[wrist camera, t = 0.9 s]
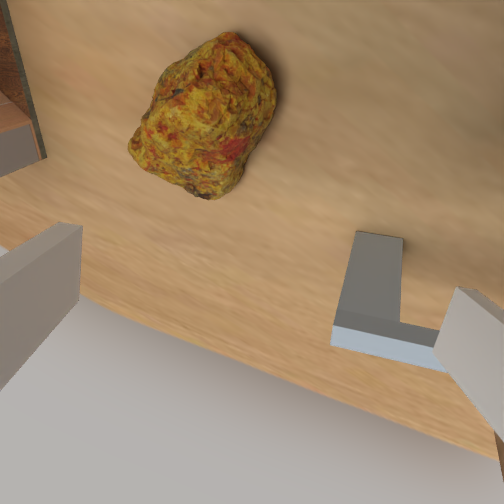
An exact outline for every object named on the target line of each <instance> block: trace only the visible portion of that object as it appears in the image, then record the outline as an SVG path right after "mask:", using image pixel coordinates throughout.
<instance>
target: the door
mask: <svg viewBox="0 0 504 504" xmlns="http://www.w3.org/2000/svg"><path fill="white" fill-rule="evenodd" d="M494 434H495V439H496V444H497V450H498V455H499V460H500V465H501V471H502V476H503V481H504V442H503V441H502V440H501V438H500V437H499V436H498V435H497V433H496V432H495V431H494Z"/></svg>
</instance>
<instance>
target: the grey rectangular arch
mask: <svg viewBox="0 0 504 504" xmlns="http://www.w3.org/2000/svg"><path fill="white" fill-rule="evenodd" d="M402 250H403V238H397V237H390V236H384V235H378V234H372V233H365V232H359V231H356V234H355V238H354V242H353V246H352V250H351V254H350V258H349V262H348V267H347V271H346V275H345V279H344V283H343V287H342V291H341V295H340V299H339V303H338V307H337V311H336V315H335V320H334V324H333V329H332V336H331V342H330V345H332V346H337V347H341V348H345V349H349V350H353V351H358V352H362V353H366V354H370V355H374V356H379V357H383V358H387V359H391V360H395V361H400V362H404V363H408V364H412V365H416V366H421V367H425V368H429V369H433V370H438V371H442V372H446V373H448V372H447V371H446V369H445V368H444V367H443V366H442V364H441V363H440V362H439V361H438V359H437V358H436V357H435V356H434V354H433V353H432V351H433V348H434V345H435V343H436V340H437V337H438V334H439V332H440V331H439V330H434V329H430V328H425V327H420V326H416V325H411V324H406V323H401V322H400V300H401V275H402Z"/></svg>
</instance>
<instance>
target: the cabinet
mask: <svg viewBox="0 0 504 504" xmlns="http://www.w3.org/2000/svg"><path fill="white" fill-rule="evenodd" d="M44 158H47V154H46V151H45V147H44V143H43V139H42V135H41V131H40V128H39V124H38V120H37V116H36V112H35V108H34V105H33V101H32V97H31V93H30V89H29V85H28V82H27V78H26V74H25V70H24V66H23V62H22V59H21V55H20V51H19V47H18V43H17V39H16V36H15V32H14V28H13V24H12V20H11V16H10V13H9V9H8V5H7V1H6V0H0V177H2V176H4V175H7V174H9V173H11V172H14V171H16V170H19V169H21V168H23V167H26V166H28V165H30V164H33V163H35V162H37V161H39V160H42V159H44Z"/></svg>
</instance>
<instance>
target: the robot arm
mask: <svg viewBox="0 0 504 504" xmlns="http://www.w3.org/2000/svg"><path fill="white" fill-rule="evenodd" d="M82 230H83V226H81V225H75V224H69V223H63V222H58V223H56V224H55V225H53V226H51V227H50V228H48V229H46V230H45V231H43V232H41V233H40V234H38V235H36V236H35V237H33V238H31V239H30V240H28V241H26V242H25V243H23V244H21V245H20V246H18V247H16V248H14V249H13V250H11V251H9V252H8V253H6V254H5V255H3V256H1V257H0V391H1V390H2V388H3V387H4V386H5V385H6V384H7V383H8V382H9V380H10V379H11V378H12V377H13V376H14V375H15V373H16V372H17V371H18V370H19V369H20V368H21V367H22V365H23V364H24V363H25V362H26V361H27V360H28V358H29V357H30V356H31V355H32V354H33V353H34V352H35V350H36V349H37V348H38V347H39V346H40V345H41V343H42V342H43V341H44V340H45V339H46V338H47V337H48V335H49V334H50V333H51V332H52V330H54V329H55V327H56V326H57V325H58V324H59V323H60V322H61V320H62V319H63V318H64V317H65V316H66V315H67V314H68V312H69V311H70V310H71V309H72V308H73V307H74V306H75V304H76V303H77V302H78V301H79V291H80V271H81V251H82ZM432 353H433V354H434V356H435V357H436V358H437V359H438V361H439V362H440V363H441V364H442V366H443V367H444V368H445V369H446V371H447V372H448V373H449V374H450V376H451V377H452V378H453V379H454V381H455V382H456V383H457V384H458V386H459V387H460V388H461V389H462V391H463V392H464V393H465V394H466V396H467V397H468V398H469V399H470V401H471V402H472V403H473V404H474V406H475V407H476V408H477V409H478V411H479V412H480V413H481V414H482V416H483V417H484V418H485V419H486V421H487V422H488V423H489V425H490V426H491V427H492V428H493V430H494V431H495V432H496V433H497V435H498V436H499V437H500V438H501V440H502V441H503V442H504V310H503V309H502V308H500V307H499V306H498V305H496V304H495V303H494V302H492V301H491V300H490V299H488V298H487V297H486V296H484V295H483V294H482V293H480V292H479V291H478V290H475V289H469V288H463V287H457V286H456V288H455V291H454V294H453V297H452V299H451V302H450V305H449V307H448V310H447V313H446V315H445V318H444V321H443V324H442V326H441V329H440V332H439V334H438V337H437V340H436V343H435V345H434V348H433V351H432Z"/></svg>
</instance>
